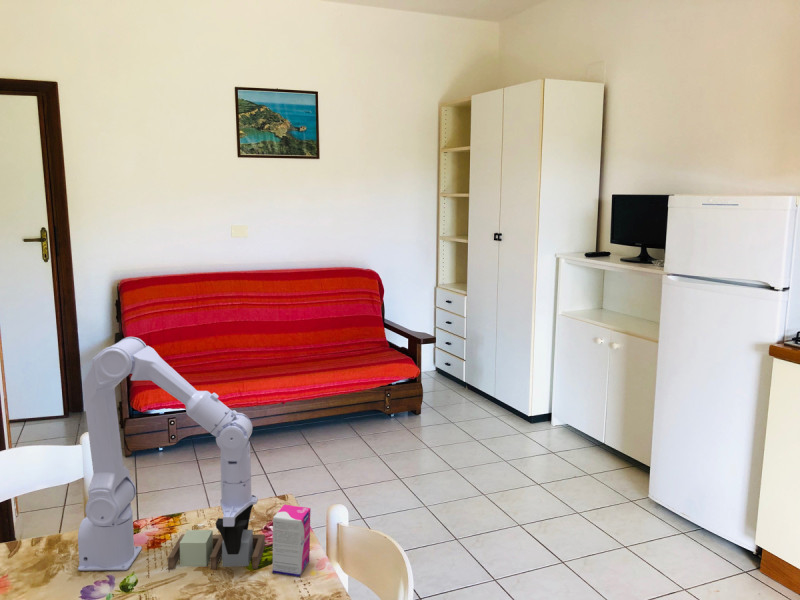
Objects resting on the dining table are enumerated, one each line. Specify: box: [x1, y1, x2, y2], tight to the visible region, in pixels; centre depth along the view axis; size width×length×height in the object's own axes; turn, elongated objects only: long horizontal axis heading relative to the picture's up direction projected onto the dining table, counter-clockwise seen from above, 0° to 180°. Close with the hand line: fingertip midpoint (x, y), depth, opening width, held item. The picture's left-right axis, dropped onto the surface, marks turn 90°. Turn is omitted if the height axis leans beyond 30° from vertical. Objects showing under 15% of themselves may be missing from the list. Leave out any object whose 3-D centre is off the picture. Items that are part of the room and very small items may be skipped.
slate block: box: [221, 529, 254, 567], centre depth 127 cm, size 5×5×5 cm
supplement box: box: [271, 504, 311, 578], centre depth 124 cm, size 6×6×12 cm
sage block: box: [179, 529, 214, 568], centre depth 127 cm, size 5×5×5 cm
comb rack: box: [167, 533, 266, 570], centre depth 128 cm, size 17×8×2 cm, turn 92°
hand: (237, 543), depth 127 cm, fingers open, 7 cm apart
